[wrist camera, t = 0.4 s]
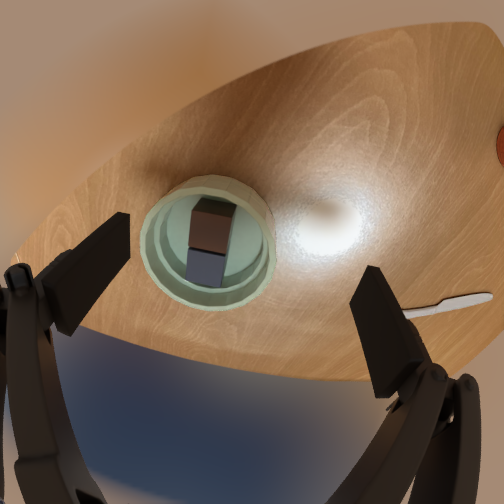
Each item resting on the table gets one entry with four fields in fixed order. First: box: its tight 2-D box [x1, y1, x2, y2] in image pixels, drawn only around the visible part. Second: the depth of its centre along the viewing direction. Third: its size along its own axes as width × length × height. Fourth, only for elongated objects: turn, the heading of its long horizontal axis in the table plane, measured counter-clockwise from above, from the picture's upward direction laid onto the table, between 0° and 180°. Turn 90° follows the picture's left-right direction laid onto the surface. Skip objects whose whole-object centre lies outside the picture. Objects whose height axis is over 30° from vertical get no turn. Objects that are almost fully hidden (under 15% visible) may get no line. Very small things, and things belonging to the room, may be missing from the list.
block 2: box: [185, 243, 230, 288], centre depth 26 cm, size 4×4×4 cm
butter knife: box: [402, 293, 493, 319], centre depth 30 cm, size 1×24×3 cm
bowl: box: [140, 174, 277, 311], centre depth 25 cm, size 12×12×5 cm
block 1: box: [188, 198, 237, 254], centre depth 25 cm, size 4×4×4 cm
